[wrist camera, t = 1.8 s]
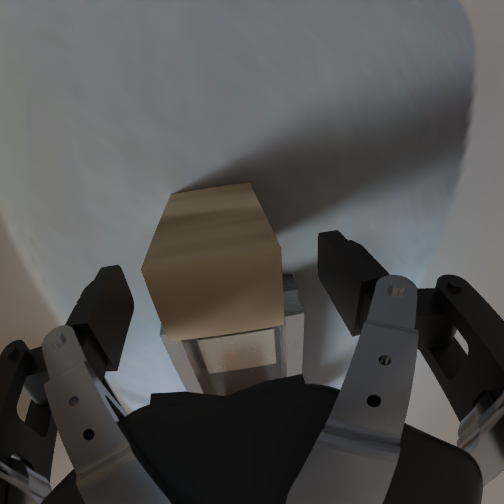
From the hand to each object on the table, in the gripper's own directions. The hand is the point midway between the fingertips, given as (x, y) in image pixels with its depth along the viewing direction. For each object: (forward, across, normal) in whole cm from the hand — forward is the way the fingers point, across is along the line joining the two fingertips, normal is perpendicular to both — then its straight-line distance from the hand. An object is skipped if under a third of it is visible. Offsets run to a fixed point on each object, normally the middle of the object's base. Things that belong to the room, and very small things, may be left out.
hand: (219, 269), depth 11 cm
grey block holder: (+5, 0, +12) cm, 13 cm away
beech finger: (+4, 0, -1) cm, 4 cm away
